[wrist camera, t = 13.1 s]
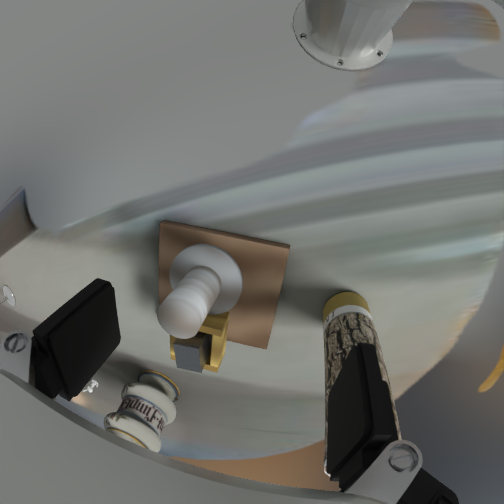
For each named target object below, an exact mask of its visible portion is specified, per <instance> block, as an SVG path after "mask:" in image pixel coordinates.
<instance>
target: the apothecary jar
mask: <svg viewBox="0 0 504 504" xmlns="http://www.w3.org/2000/svg"><path fill="white" fill-rule="evenodd" d="M138 381H139V382H132V383H129V384H127V385H126V386H125V387H124V388H123V390H122V403H121V405H120V407H119V408H118V410H117V412H113V413H110V414H108V415H107V416H106V417H105V419H104V426H105V429H106V430H107V431H109V432H111V433H113V434H115V435H117V436H119V437H121V438H123V439H125V440H128V441H130V442H132V443H134V444H137V445H139V446H141V447H144V448H146V449H149V450H151V451H154V452H156V453H157V452H158V451H159V450H160V449H161V441H160V438H159V436H160V433H161V431H162V429H163V427H164V426H165V425H167V424H170V423H171V422H173V421H174V419H175V417H176V408H175V406H174V404H173V402H175V401H177V400H178V396H179V395H180V392H179V389H178V387H177V386H176V385H175V383H174V382H173V381H172V380H170V379H169V378H168V377H166V376H165V375H163V374H161V373H158V372H155V371H150V370H146V371H143V372H141V373H140V374H139V376H138Z"/></svg>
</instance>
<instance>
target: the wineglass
mask: <svg viewBox="0 0 504 504" xmlns="http://www.w3.org/2000/svg"><path fill="white" fill-rule="evenodd" d="M3 292H4V295H5V298H3V299H2V300H1V301H0V304H1V303H3V302H4V301H6V300H7V301H8V302H9V304H10V305H12V306H15V304H16V301H15V297H14V295H13V293H12V291H11V290H10V288H9V287H8V286H4V287H3Z"/></svg>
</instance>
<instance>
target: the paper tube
mask: <svg viewBox="0 0 504 504" xmlns="http://www.w3.org/2000/svg"><path fill="white" fill-rule="evenodd" d="M323 330H324V354H325V454H324V455H325V456H324V467H325V468H324V471H325V473H326V474H327V472H326V463H327V432H328V396H329V392H330V390H331V388H332V386H333V384H334V382H335V380H336V378H337V376H338V374H339V372H340V370H341V368H342V366H343V364H344V362H345V360H346V358H347V356H348V354H349V352H350V349H351V347H352V346H353V345H356V346H357V344H358V343H359V342H363V343H369V344H374V346H375V349H376V353H377V357H378V362H379V366H380V370H381V375H382V380H385V381H386V382H387V384H388V387H389V392H390V396H391V401H392V406H393V411H394V417H395V422H396V428H397V434H398V440H401V434H400V429H399V423H398V418H397V413H396V409H395V404H394V399H393V395H392V391H391V386H390V382H389V378H388V374H387V370H386V366H385V362H384V359H383V355H382V351H381V347H380V344H379V340H378V337H377V333H376V330H375V327H374V323H373V320H372V317H371V314H370V311H369V308H368V305H367V302H366V301H365V299H364V298H363V297H362V296H360V295H359V294H357V293H353V292H342V293H339V294H336V295H335V296H333V297H332V298H330V299H329V300H328V301H327V303H326V304H325V306H324V309H323ZM327 475H328V476H330V474H327Z"/></svg>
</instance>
